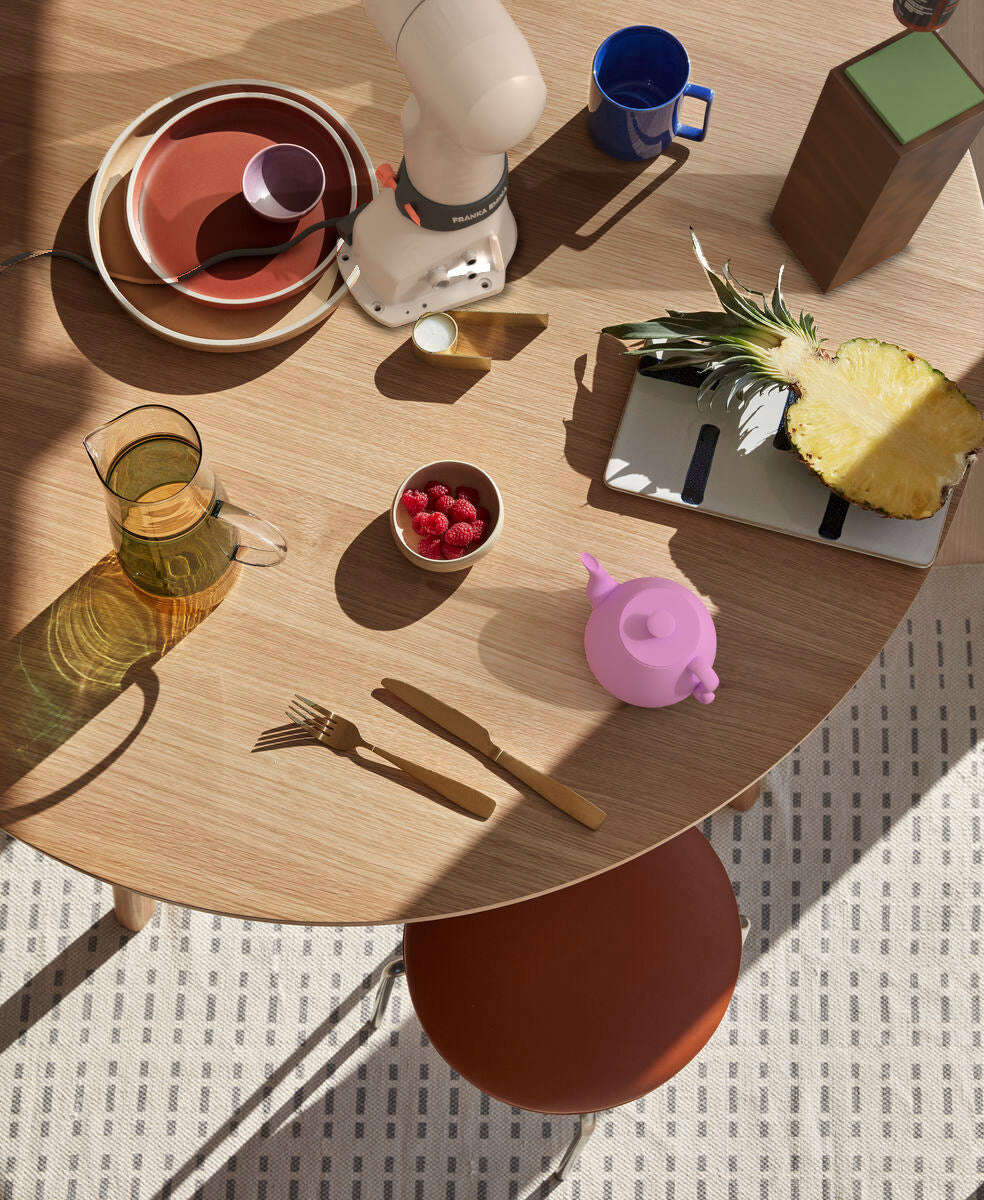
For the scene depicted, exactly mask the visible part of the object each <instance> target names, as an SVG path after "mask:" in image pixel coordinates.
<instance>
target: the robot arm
mask: <svg viewBox="0 0 984 1200" xmlns="http://www.w3.org/2000/svg"><path fill="white" fill-rule="evenodd" d="M360 2H361V4H362V6H363V9H364V12H365V14H366V17H367V18H368V20H369V22H370V23H371V25H372V27H373V28H374V29H375V31H376V33H377V34H378V36H379V37H380V39H381V41H382V42H383V44H384V45H385V46H386V48H387V50H388V52H389V53H390V54H391V55H392V58H393V59H394V60H395V62H396V63H397V65H398V67H399V69H400V71H401V72H402V74H403V76H404V77H405V80H406V82H407V83H408V85H409V87H410V89H411V94H409V96H408V97H407V99H406V100H405V102H404V103H403V106H402V108H401V113H400V119H399V120H400V121H399V123H400V130H401V138H402V146H403V147H402V148H403V155H402V158H401V160H400V163H399V166H398V169H397V172H396V173H395V171H394V168H393V167H392V165H391V164H390V163H388V162H384V163H382V164H380V165H379V166H378V167H377V168H376V170H375V173H374V175H375V176H376V178H377V179H378V180H379V181H380V182H381V185H382V187H383V189H381V191H380V192H379V193H378V194H377V195H376V196H375V197H374V198H373V199H372V200H371V201H370V203H368V204H367V203H366V202H363V203H362V204H361V205H359V206H358V207H357V208H354V209H353V210H352V211H350V213H348V214H347V215H344V216H339V217H332V218H329V219H325V220H322V221H321V220H320V221H319V222H316V223H313V224H311V225H310V226H308V227H306V228H304V229H303V230H302V231H301V232H300V233H298V234H297V235H296V236H294V237H293V238H292V239H290V240H289V241H287V242H285V243H283V244H280V245H276V246H272V247H265V248H262V247H261V248H239V249H233V250H228V251H224V252H221V253H218V254H216V255H214V256H212V257H210V258H208V259H206V260H204V261H202V262H201V263H199V264H198V265H196V266H194V267H192V268H191V269H189V270H186V271H185V272H182V273H179V274H177V275H176V276H180V275H182V274H185V273H187V272H189V271H191V270H192V269H194V268H196V267H198V266H199V265H201V264H203V263H204V262H206V261H208V260H210V261H208V262H206V263H205V264H203V265H202V266H200V267H198V268H197V269H195V270H193V271H191V272H190V273H188V274H185V275H183V276H181V277H178V278H177V279H178V281H181V282H184V281H185V280H186V281H187V280H188V279H190V278H193V277H194V276H196V275H198V274H199V273H201V272H203V271H205V270H206V269H208V268H210V267H212V266H213V265H215V264H217V263H220V262H222V261H226V260H228V259H232V258H237V257H238V258H239V257H248V256H249V257H251V256H252V257H253V256H270V255H276V254H280V253H283V252H286V251H289V250H290V249H292V248H294V247H296V246H298V245H299V244H300V243H301V242H302V241H304V240H305V239H307V238H308V237H309V236H310V235H312V234H314V233H315V232H317V231H320V230H322V229H325V228H329V227H332V226H335V227H336V230H337V235H338V236H339V238H340V237H341V238H342V239H343V240H344V241H345V242H344V244H343V245H342V248H341V250H340V253H339V254H338V256H337V255H336V262H337V266H338V269H339V273H340V275H341V277H342V279H343V281H344V284H346V281H347V279H348V277H349V276H350V275H351V272H352V271H353V269H354V267H355V266H356V265H358V267H359V270H360V275H359V277H358V279H357V281H356V283H355V284H354V285H353V287H352V288H351V289H348V291H349V292H350V293H351V295H352V297H353V298H354V299H355V301H356V302H357V304H358V305H359V306H360V307H361V308H362V310H364V312H365V313H366V314H368V316H370V318H372V319H374V320H375V321H376V322H378V323H379V324H382V325H383V326H385V327H389V328H397V327H400V326H403V325H407V324H410V323H414V322H416V321H419V320H420V319H419V317H420V316H421V315H423V314H424V313H425V312H430V311H431V312H435V311H439V312H441V313H443V312H447V311H450V310H453V309H455V308H459V307H463V306H465V305H469V304H471V303H474V302H478V301H481V300H484V299H486V298H487V299H488V298H490V297H493V296H496V295H498V294H501V292H502V291H503V290H504V288H505V285H506V271H507V267H508V264H509V263H510V261H511V259H512V257H513V255H514V253H515V251H516V246H517V242H518V226H517V222H516V219H515V216H514V214H513V212H512V210H511V208H510V205H509V201H508V196H507V193H508V190H509V179H510V178H509V175H510V174H509V172H510V171H509V158H508V153H507V152H509V151H511V150H513V149H515V148H516V147H518V146H519V145H520V144H522V143H523V142H524V141H525V140H526V139H528V138H529V137H530V135H531V134H532V133H533V131H535V129H536V127H537V126H538V124H539V123H540V122H541V119H542V116H543V114H544V111H545V108H546V106H547V105H546V104H547V101H548V89H547V85H546V83H545V79H544V77H543V75H542V71H541V70H540V67H539V64H538V61H537V60H536V57H535V55H534V52H533V50H532V48H531V46H530V43H529V42H528V40H527V38H526V37H525V35H524V33H523V32H522V31H521V29H520V28H519V26H518V25H517V24H516V22H515V21H514V20H513V18H512V16H511V15H510V13H509V12H508V11H507V9H506V8H505V6H504V5H503V3H502V2H501V0H360ZM339 238H338V239H337V240H336V243H337V242H338V241H339ZM45 249H46V250H61V251H66V252H69V253H72V254H75V255H77V256H79V257H80V258H82V259H84V260H86V261H87V262H89V263H91V264H92V265H93V266H92V265H90V264H88V263H86V262H85V261H83V260H81V259H80V258H78V257H76V256H74V255H71V254H68V253H65V252H59V251H52V252H48V253H44V254H41V255H38V256H35V257H32V258H30V259H29V260H31V259H35V258H36V259H37V258H42V257H64V258H68V259H70V260H73V261H75V262H77V263H79V264H81V265H83V266H84V267H86V268H87V269H89V270H91V271H93V272H95V273H96V274H99V272H98V270H97V268H95V267H94V266H95V264H96V263H94V262H92V261H91V260H89V259H87V258H85V257H83V255H81V254H78V253H76V252H74V251H71V250H66V249H62V248H61V249H59V248H45ZM31 251H32V252H33V251H34V250H31ZM31 251H26V252H23V253H20V254H18V255H17V254H16V255H15V256H13V257H10V258H8V259H6V260H4V261H3V262H1V263H0V265H1V266H2V267H3V266H8V265H9V264H13V263H15V262H18V261H19V260H22V259H25V258H26V257H29V256H30V255H33V254H34V253H33V254H31V253H32V252H31ZM211 259H212V260H211ZM345 259H347V260H345ZM6 270H7V269H5V270H4V271H6ZM4 271H2V272H0V274H2V273H3V272H4ZM154 284H155V283H154ZM157 284H158V283H157ZM161 286H164V285H163V284H162V285H161ZM483 286H487V287H483ZM376 309H380V310H377V311H376ZM418 319H419V320H418Z"/></svg>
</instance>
